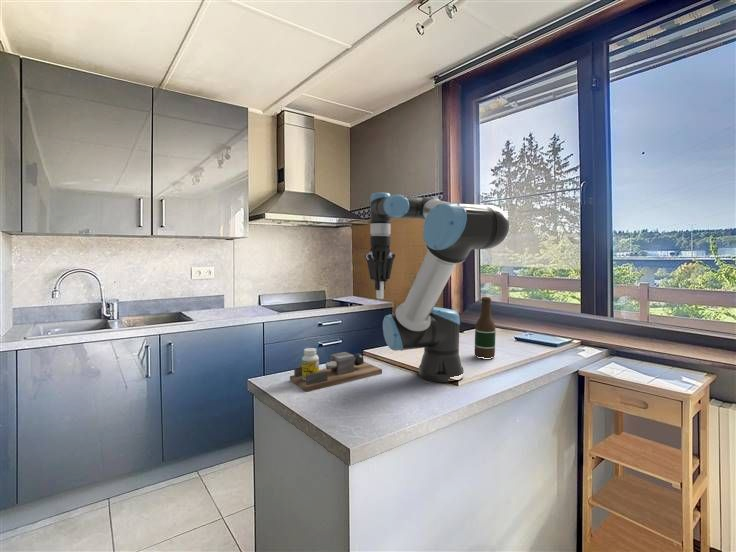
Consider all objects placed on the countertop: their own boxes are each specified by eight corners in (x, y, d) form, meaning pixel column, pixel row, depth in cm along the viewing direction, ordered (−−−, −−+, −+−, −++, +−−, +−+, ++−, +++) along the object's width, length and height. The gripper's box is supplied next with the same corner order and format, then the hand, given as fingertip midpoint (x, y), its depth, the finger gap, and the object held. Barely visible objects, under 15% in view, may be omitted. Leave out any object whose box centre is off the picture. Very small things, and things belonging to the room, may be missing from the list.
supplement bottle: (321, 376, 127) (321, 348, 126) (314, 382, 122) (314, 352, 121) (306, 375, 129) (306, 346, 128) (299, 380, 123) (298, 350, 123)
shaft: (363, 366, 135) (363, 354, 135) (330, 373, 127) (330, 361, 127) (357, 363, 138) (357, 352, 138) (324, 370, 130) (324, 358, 130)
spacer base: (382, 373, 135) (382, 353, 134) (306, 391, 118) (306, 368, 117) (362, 364, 145) (362, 345, 144) (289, 380, 128) (289, 359, 127)
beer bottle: (495, 360, 150) (497, 299, 148) (475, 359, 152) (476, 298, 150) (493, 354, 158) (495, 296, 156) (473, 353, 159) (475, 295, 157)
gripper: (387, 235, 151) (387, 296, 153) (360, 235, 143) (360, 298, 145) (400, 235, 145) (399, 298, 147) (372, 235, 137) (372, 301, 139)
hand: (380, 298), depth 146 cm, fingers closed
